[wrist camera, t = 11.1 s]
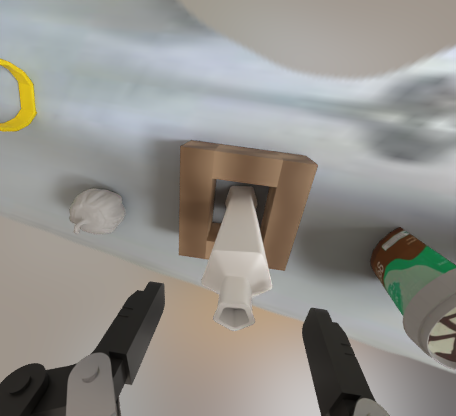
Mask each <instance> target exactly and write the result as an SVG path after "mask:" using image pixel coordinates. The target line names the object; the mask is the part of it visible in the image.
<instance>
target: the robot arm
mask: <svg viewBox="0 0 456 416" xmlns="http://www.w3.org/2000/svg"><path fill="white" fill-rule="evenodd" d="M164 305H165V296H164V284H163V283H157V282H149V283H148V284H147V286H146V288H145V290H144V291H139V290H137V291H136V292H135V293H134V294H132V295H131V296H130V297H129V298H128V299H127V301H126V302H125V304H124V306H123V307H122V309H121V310H120V312H119V313H118V315H117V317H116V318H115V319H114V321H113V323H112V324H111V326H110V327H109V329H108V330H107V332H106V334H105V335H104V336H103V338H102V340H101V341H100V343H99V344H98V346H97V347H96V349H95V350H94V351H93V352H92V353H91V354H90V355H88V356H86V357H85V358H83V359H82V360H81V361H79V362H78V363H77V364H74V365H70V366H66V367H60V368H55V369H50V370H45V368H44V366H43V365H41V364H38V363H34V364H28V365H25V366H23V367H21V368H19V369H17V370H15V371H14V372H12V373H11V374H10V375H8V376H7V377H6V378H5V379H4V380H3V381H2V382H1V384H0V416H121V410H120V402H119V395H120V393H121V390H122V388H123V386H124V384H130V385H132V383H133V381H134V379H135V376H136V374H137V372H138V369H139V367H140V364H141V362H142V360H143V358H144V355H145V353H146V350H147V348H148V346H149V343H150V341H151V339H152V337H153V334H154V332H155V329H156V327H157V325H158V323H159V320H160V318H161V315H162V313H163V310H164ZM302 336H303V341H304V345H305V349H306V354H307V358H308V362H309V366H310V370H311V374H312V379H313V383H314V387H315V391H316V395H317V400H318V404H319V408H320V412H321V416H390V415H389V414H388V413H387V411H386V410H385V409H384V408H383V407H381V406H380V405H379V404H378V403H377V402H376V401H375V399H374V397H373V395H372V393H371V391H370V389H369V386H368V384H367V381H366V379H365V377H364V374H363V372H362V370H361V368H360V365H359V363H358V361H357V359H356V357H355V354H354V352H353V349H352V347H351V345H350V343H349V340H348V338H347V335H346V333H345V332H344V331H343V330H342V328H341V327H340V326H339V324H338V323H335V322H332V320H331V318H330V315H329V313H328V311H327V310H324V309H317V308H310V310H309V313H308V315H307V317H306V320H305V322H304V324H303V328H302Z"/></svg>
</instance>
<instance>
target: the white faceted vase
mask: <svg viewBox="0 0 456 416" xmlns="http://www.w3.org/2000/svg"><path fill="white" fill-rule="evenodd" d="M225 205H226V208H227V209H226V212H225V215H224V218H223V221H222V223H221V226H220V229H219V232H218V235H217V238H216V241H215V243H214V246H213V249H212V252H211V255H210V258H209V261H208V263H207V266H206V269H205V272H204V275H203V278H202V281H201V283H202V285H204V286H205V287H207V288H209V289H210V290H212V291H214V292H215V293H217V294H219V301H218V308H217V310H216V312H215V314H214V317H213V319H214V321H215V322H217V323H219V324H220V325H222V326H224V327H226V328H228V329H230V330H232V331H237V330H240V329H243V328H245V327H248V326H250V325H253V324H254V323H255V319H254V316H253V314H252V297H255V296H257V295H259V294H262V293H264V292H266V291H269V290H271V289H272V282H271V277H270V273H269V268H268V264H267V259H266V255H265V250H264V246H263V241H262V237H261V233H260V228H259V224H258V219H257V215H256V210H255V209H256V208H257V206H258V203H257V199H256V196H255V192H254V189H253V187H251V186H231V187H230V190H229V193H228V196H227V198H226V201H225Z"/></svg>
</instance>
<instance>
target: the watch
mask: <svg viewBox="0 0 456 416" xmlns="http://www.w3.org/2000/svg"><path fill="white" fill-rule="evenodd" d="M0 65H1V66H3V67H5V68H7V69H8V70H9V71H10V72H11V73H12V75H13V76H14V77H15V78H16V80H17V81H18V84H19V93H20V102H21V110H20V111H19V113H18V114H17V116H16V117H15V118H14V119H12V120H10V121H7V122H5V123H0V131H19V130H21V129H23V128H25V127H26V126H28V125H29V124H30V123H31V122H32V120H33V119H34V117H35V116H36V114H37V112H36V108H35V98H34V86H33V85H34V84H33V83H32V82H31V80H30V79H29V77H28V76H27V75H26V73H25V72H23V70H21V69H20V68H18V67H17V66H15V65H13V64H12V63H10V62H8V61H6V60H3V59H0Z"/></svg>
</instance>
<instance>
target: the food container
mask: <svg viewBox="0 0 456 416" xmlns="http://www.w3.org/2000/svg"><path fill="white" fill-rule="evenodd" d="M370 261H371V267H372V269H373V271H374V273H375V274H376V276H377V277H378V279H379V280H380V282H381V283H382V285H383V286H384V288H385V289H386V291H387V292H388V294H389V295H390V297H391V298H392V300H393V301H394V303H395V305H396V306H397V308H398V309H399V311H400V312H401V314H402V315H403V326H404V330H405V332H406V334H407V335H408V336H409V337H410V339H411V340H412V341H413V342H414V343H415V344H416V345H417V346H419V347H420V348H421V349H422V350H423V351H424V352H425V353H426V354H427V355H428V356H430V357H431V358H433V359H434V360H435V361H437V362H438V363H439V364H441V365H443V366H445V367H448V368H451V369H454V370H456V265H455V264H453V263H452V262H450V261H449V260H447V259H446V258H444V257H443V256H442V255H440V254H439V253H437V252H436V251H434V250H433V249H431V248H430V247H428V246H427V245H426V244H424V243H423V242H421V241H420V240H418V239H417V238H415V237H414V236H413V235H411V234H410V233H408V232H407V231H405V230H404V229H402V228H401V227H399V228H397V229H396V230H394V231H392V232H390V233H389V234H388V235H387V236H385V237H384V238H383V239H382V240H381V241H380V242H379V243H378V244H377V246H376V247H375V249H374V250H373V253H372V256H371V260H370Z"/></svg>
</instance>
